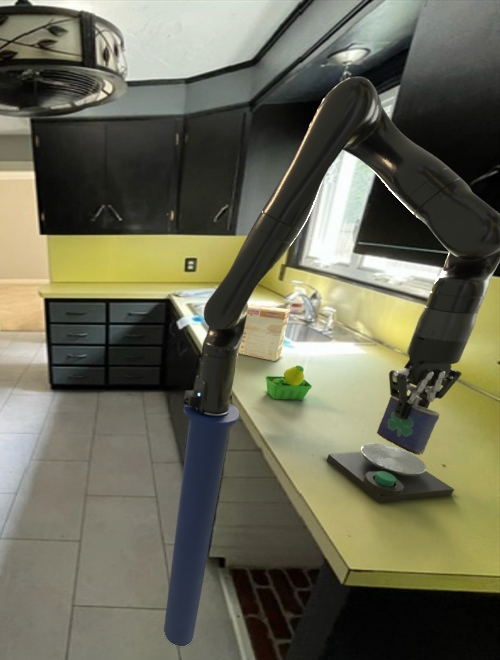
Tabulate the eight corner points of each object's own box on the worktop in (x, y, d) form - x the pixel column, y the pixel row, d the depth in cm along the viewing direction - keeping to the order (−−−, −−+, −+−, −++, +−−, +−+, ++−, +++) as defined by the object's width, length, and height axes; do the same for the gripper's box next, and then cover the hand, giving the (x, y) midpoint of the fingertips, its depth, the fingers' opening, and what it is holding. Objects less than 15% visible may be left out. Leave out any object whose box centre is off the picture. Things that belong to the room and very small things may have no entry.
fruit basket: (297, 391, 116) (305, 357, 112) (311, 403, 108) (321, 368, 104) (261, 390, 116) (268, 357, 112) (273, 402, 108) (281, 367, 104)
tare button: (383, 488, 69) (386, 481, 68) (370, 478, 72) (372, 471, 71) (397, 486, 69) (400, 480, 69) (383, 476, 72) (386, 470, 72)
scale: (378, 504, 69) (383, 492, 67) (324, 460, 82) (328, 448, 80) (453, 497, 71) (459, 484, 69) (389, 454, 84) (393, 443, 83)
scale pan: (391, 478, 71) (392, 475, 71) (348, 447, 81) (349, 445, 81) (439, 473, 73) (440, 471, 72) (391, 443, 83) (392, 441, 82)
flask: (426, 454, 71) (447, 405, 67) (414, 456, 71) (434, 407, 67) (383, 430, 80) (399, 386, 75) (372, 432, 79) (387, 387, 75)
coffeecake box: (280, 357, 146) (291, 309, 139) (275, 361, 141) (285, 312, 134) (243, 349, 155) (251, 304, 148) (237, 353, 150) (245, 306, 143)
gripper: (453, 327, 70) (420, 406, 77) (388, 329, 68) (361, 410, 75) (497, 338, 63) (457, 424, 70) (427, 341, 62) (393, 428, 69)
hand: (408, 416), depth 73 cm, fingers closed on flask, 3 cm apart
